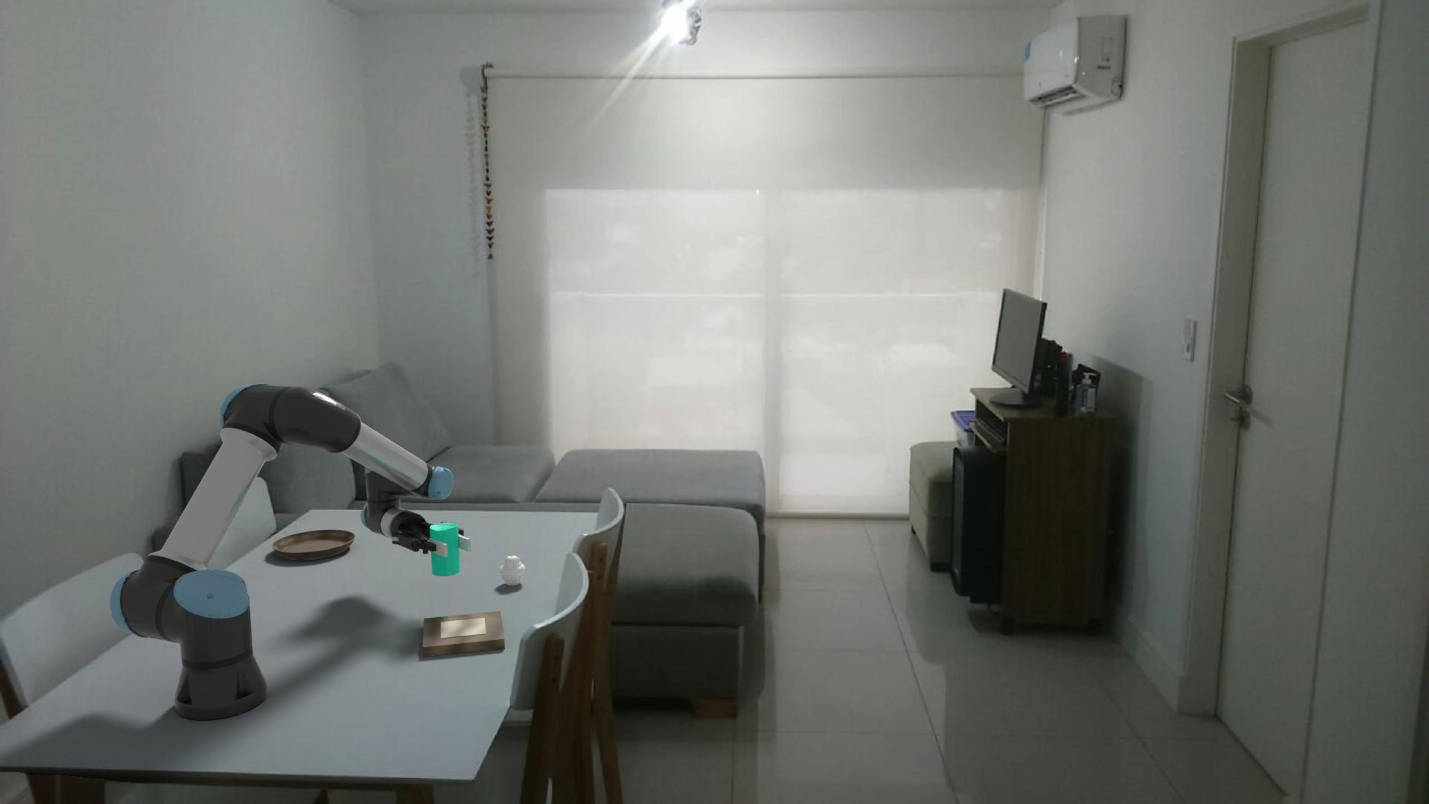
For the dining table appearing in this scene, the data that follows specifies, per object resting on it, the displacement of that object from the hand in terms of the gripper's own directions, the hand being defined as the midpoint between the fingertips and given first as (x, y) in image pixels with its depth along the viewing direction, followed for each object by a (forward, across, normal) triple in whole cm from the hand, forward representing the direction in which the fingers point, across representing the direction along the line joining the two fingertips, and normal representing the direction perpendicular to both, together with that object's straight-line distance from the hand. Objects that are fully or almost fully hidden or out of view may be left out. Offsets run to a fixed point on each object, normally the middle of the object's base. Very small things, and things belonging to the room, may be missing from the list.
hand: (457, 547), depth 228 cm
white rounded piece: (-12, -21, -16) cm, 29 cm away
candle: (-5, 0, -7) cm, 9 cm away
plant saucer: (-71, +1, -16) cm, 73 cm away
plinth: (+9, +5, -16) cm, 19 cm away
